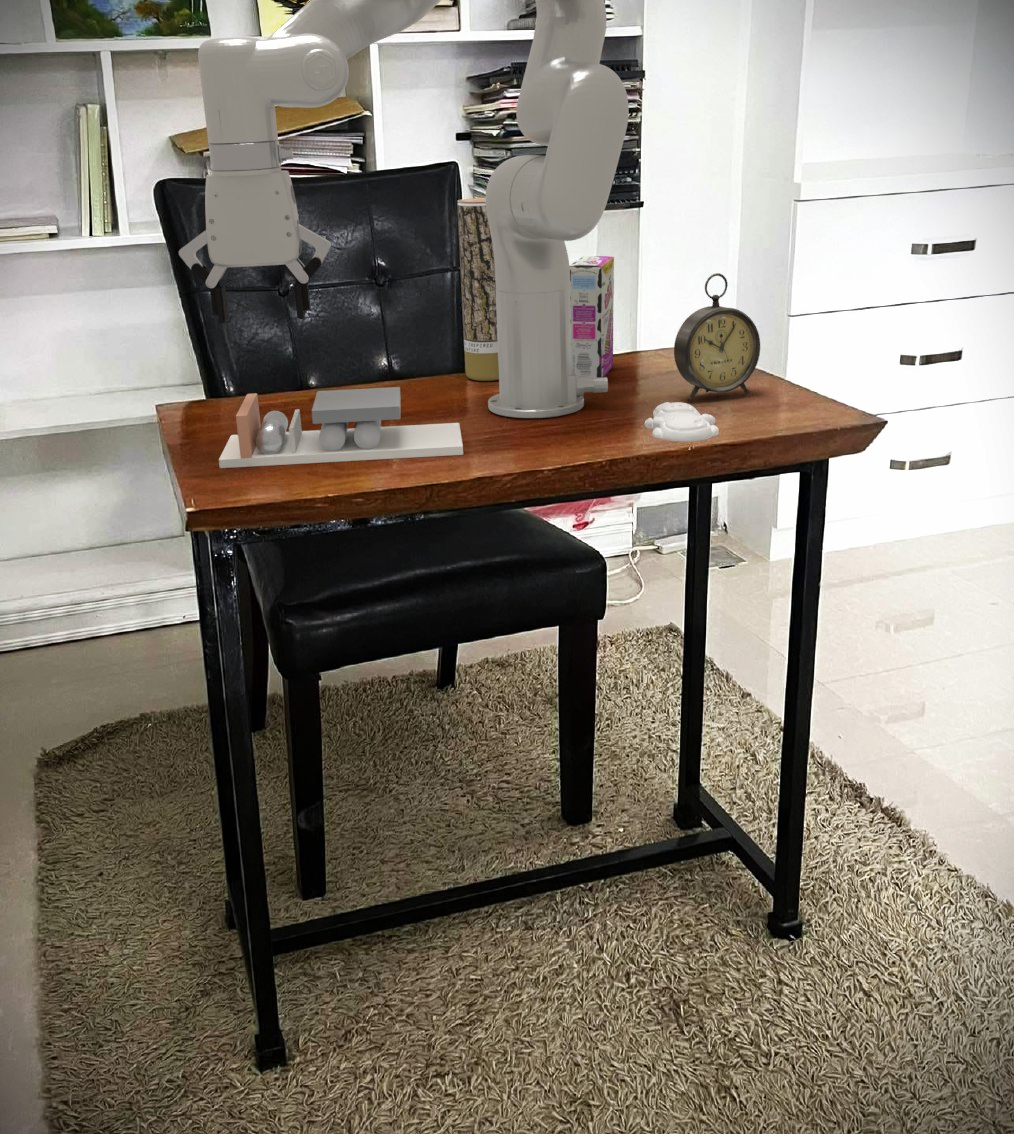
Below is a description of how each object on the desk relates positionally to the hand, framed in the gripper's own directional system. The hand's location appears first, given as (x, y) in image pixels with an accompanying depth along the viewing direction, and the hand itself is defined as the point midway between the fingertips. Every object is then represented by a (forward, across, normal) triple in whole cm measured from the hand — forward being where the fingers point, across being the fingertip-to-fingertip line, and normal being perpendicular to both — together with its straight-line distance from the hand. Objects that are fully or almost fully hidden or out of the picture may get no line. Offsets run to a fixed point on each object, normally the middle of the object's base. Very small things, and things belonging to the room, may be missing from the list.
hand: (262, 318), depth 144 cm
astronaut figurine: (+17, -49, -1) cm, 52 cm away
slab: (+11, -10, 0) cm, 15 cm away
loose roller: (+15, 0, 0) cm, 15 cm away
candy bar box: (+16, -42, -33) cm, 56 cm away
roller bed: (+16, -8, 0) cm, 18 cm away
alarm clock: (+16, -56, -16) cm, 61 cm away
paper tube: (+16, -27, -35) cm, 47 cm away
